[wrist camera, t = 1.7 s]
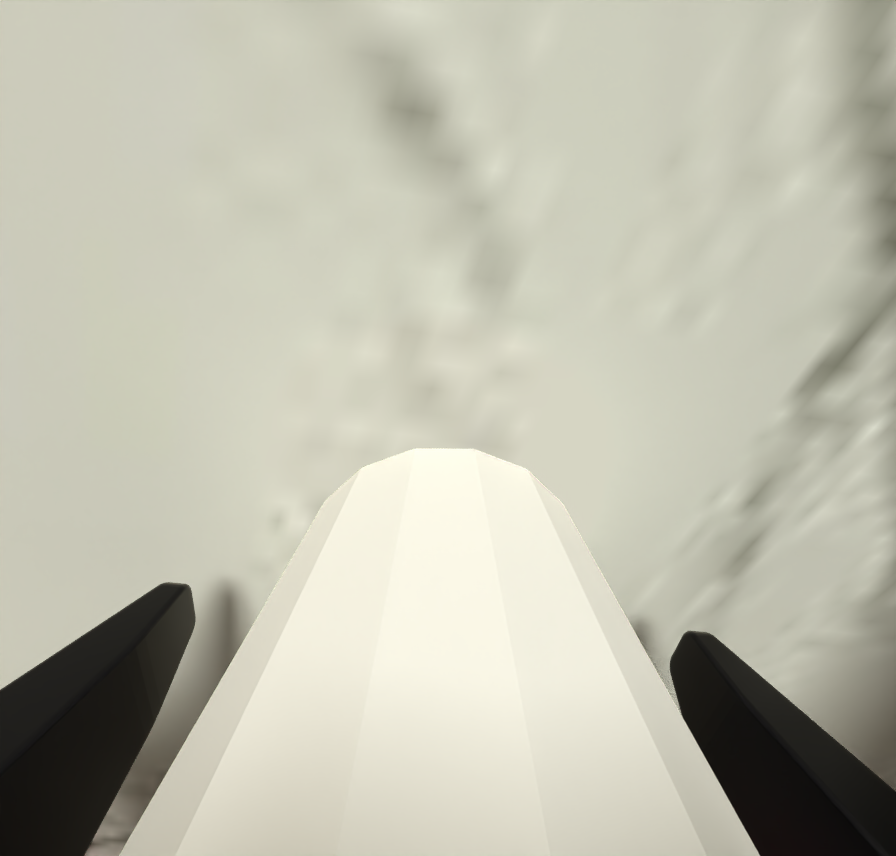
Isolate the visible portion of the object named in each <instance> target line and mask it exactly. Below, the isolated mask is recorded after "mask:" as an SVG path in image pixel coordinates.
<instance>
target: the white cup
mask: <svg viewBox="0 0 896 856" xmlns="http://www.w3.org/2000/svg"><path fill="white" fill-rule="evenodd" d="M119 856H760V855H759V853H758V851H757V850H756V848H755V846H754V844H753V842H752V841H751V839H750V837H749V835H748V833H747V832H746V830H745V828H744V826H743V825H742V823H741V821H740V819H739V817H738V816H737V814H736V812H735V810H734V808H733V807H732V805H731V803H730V801H729V799H728V798H727V796H726V794H725V792H724V791H723V789H722V787H721V785H720V783H719V782H718V780H717V778H716V776H715V774H714V773H713V771H712V769H711V767H710V766H709V764H708V762H707V760H706V758H705V757H704V755H703V753H702V751H701V749H700V748H699V746H698V744H697V742H696V740H695V739H694V737H693V735H692V733H691V732H690V730H689V728H688V726H687V724H686V723H685V721H684V719H683V717H682V715H681V714H680V712H679V710H678V708H677V707H676V705H675V703H674V701H673V699H672V698H671V696H670V694H669V692H668V690H667V689H666V687H665V685H664V683H663V681H662V680H661V678H660V676H659V674H658V673H657V671H656V669H655V667H654V665H653V664H652V662H651V660H650V658H649V656H648V655H647V653H646V651H645V649H644V648H643V646H642V644H641V642H640V640H639V639H638V637H637V635H636V633H635V631H634V630H633V628H632V626H631V624H630V622H629V621H628V619H627V617H626V615H625V614H624V612H623V610H622V608H621V606H620V605H619V603H618V601H617V599H616V597H615V596H614V594H613V592H612V590H611V589H610V587H609V585H608V583H607V581H606V580H605V578H604V576H603V574H602V572H601V571H600V569H599V567H598V565H597V564H596V562H595V560H594V558H593V556H592V555H591V553H590V551H589V549H588V547H587V546H586V544H585V542H584V540H583V538H582V537H581V535H580V533H579V531H578V530H577V528H576V526H575V524H574V522H573V521H572V519H571V517H570V515H569V513H568V512H567V510H566V508H565V506H564V505H563V503H562V502H561V501H560V500H559V499H558V498H557V497H556V496H555V495H554V494H553V493H552V492H551V491H550V490H549V489H547V488H546V487H545V486H544V485H543V484H542V483H541V482H540V481H539V480H538V479H537V478H536V477H535V476H534V475H533V474H532V473H531V472H530V471H529V470H528V469H526V468H523V467H520V466H518V465H515V464H513V463H510V462H507V461H505V460H502V459H499V458H497V457H494V456H492V455H489V454H486V453H484V452H481V451H478V450H476V449H429V448H415V449H412V450H409V451H406V452H403V453H401V454H398V455H395V456H392V457H389V458H386V459H384V460H381V461H378V462H375V463H372V464H369V465H367V466H364V467H361V468H360V469H359V470H358V471H357V472H356V473H355V474H354V475H353V476H351V477H350V478H349V479H348V480H347V481H346V482H345V483H344V484H343V485H342V486H340V487H339V488H338V489H337V490H336V491H335V492H334V493H333V494H332V495H331V496H329V497H328V498H327V499H326V500H325V501H324V503H323V505H322V506H321V508H320V510H319V512H318V513H317V515H316V517H315V518H314V520H313V522H312V524H311V525H310V527H309V529H308V531H307V532H306V534H305V536H304V537H303V539H302V541H301V543H300V544H299V546H298V548H297V549H296V551H295V553H294V555H293V556H292V558H291V560H290V562H289V563H288V565H287V567H286V568H285V570H284V572H283V574H282V575H281V577H280V579H279V580H278V582H277V584H276V586H275V587H274V589H273V591H272V593H271V594H270V596H269V598H268V599H267V601H266V603H265V605H264V606H263V608H262V610H261V612H260V613H259V615H258V617H257V618H256V620H255V622H254V624H253V625H252V627H251V629H250V630H249V632H248V634H247V636H246V637H245V639H244V641H243V643H242V644H241V646H240V648H239V649H238V651H237V653H236V655H235V656H234V658H233V660H232V661H231V663H230V665H229V667H228V668H227V670H226V672H225V674H224V675H223V677H222V679H221V680H220V682H219V684H218V686H217V687H216V689H215V691H214V693H213V694H212V696H211V698H210V699H209V701H208V703H207V705H206V706H205V708H204V710H203V711H202V713H201V715H200V717H199V718H198V720H197V722H196V724H195V725H194V727H193V729H192V730H191V732H190V734H189V736H188V737H187V739H186V741H185V743H184V744H183V746H182V748H181V749H180V751H179V753H178V755H177V756H176V758H175V760H174V761H173V763H172V765H171V767H170V768H169V770H168V772H167V774H166V775H165V777H164V779H163V780H162V782H161V784H160V786H159V787H158V789H157V791H156V792H155V794H154V796H153V798H152V799H151V801H150V803H149V805H148V806H147V808H146V810H145V811H144V813H143V815H142V817H141V818H140V820H139V822H138V824H137V825H136V827H135V829H134V830H133V832H132V834H131V836H130V837H129V839H128V841H127V842H126V844H125V846H124V848H123V849H122V851H121V853H120V855H119Z"/></svg>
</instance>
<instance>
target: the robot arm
mask: <svg viewBox="0 0 896 856" xmlns="http://www.w3.org/2000/svg"><path fill="white" fill-rule="evenodd" d="M194 626H195V610H194V604H193V598H192V591H191V588H190V587H189V585H187V584H181V583H170V582H166V583H163V584H160V585H159V586H157V587H156V588H154V589H152V590H151V591H149V592H148V593H146V594H145V595H143V596H142V597H140V598H139V599H137V600H136V601H134V602H133V603H131V604H130V605H128V606H127V607H125V608H124V609H122V610H121V611H119V612H118V613H116V614H115V615H113V616H112V617H110V618H108V619H107V620H105V621H104V622H102V623H101V624H99V625H98V626H96V627H95V628H93V629H92V630H90V631H89V632H87V633H86V634H84V635H83V636H81V637H80V638H78V639H77V640H75V641H74V642H72V643H71V644H69V645H68V646H66V647H65V648H63V649H61V650H60V651H58V652H57V653H55V654H54V655H52V656H51V657H49V658H48V659H46V660H45V661H43V662H42V663H40V664H39V665H37V666H36V667H34V668H33V669H31V670H30V671H28V672H27V673H25V674H24V675H22V676H21V677H19V678H18V679H16V680H14V681H13V682H11V683H10V684H8V685H7V686H5V687H4V688H2V689H1V690H0V856H84V855H85V853H86V851H87V849H88V847H89V845H90V844H91V842H92V840H93V838H94V836H95V834H96V832H97V830H98V829H99V827H100V825H101V823H102V821H103V819H104V817H105V815H106V814H107V812H108V810H109V808H110V806H111V804H112V802H113V800H114V799H115V797H116V795H117V793H118V791H119V789H120V787H121V785H122V784H123V782H124V780H125V778H126V776H127V774H128V772H129V770H130V769H131V767H132V765H133V763H134V761H135V759H136V757H137V755H138V754H139V752H140V750H141V748H142V746H143V744H144V742H145V740H146V738H147V737H148V735H149V733H150V731H151V729H152V727H153V725H154V723H155V720H156V718H157V716H158V714H159V711H160V709H161V707H162V704H163V702H164V700H165V697H166V695H167V692H168V690H169V688H170V685H171V683H172V680H173V678H174V675H175V673H176V671H177V668H178V666H179V663H180V661H181V659H182V656H183V654H184V651H185V649H186V647H187V644H188V642H189V639H190V637H191V635H192V632H193V629H194ZM670 672H671V677H672V680H673V684H674V688H675V691H676V695H677V699H678V703H679V706H680V710H681V714H682V717H683V719H684V721H685V723H686V724H687V726H688V728H689V730H690V732H691V733H692V735H693V737H694V739H695V740H696V742H697V744H698V746H699V748H700V749H701V751H702V753H703V755H704V757H705V758H706V760H707V762H708V764H709V766H710V767H711V769H712V771H713V773H714V774H715V776H716V778H717V780H718V782H719V783H720V785H721V787H722V789H723V791H724V792H725V794H726V796H727V798H728V799H729V801H730V803H731V805H732V807H733V808H734V810H735V812H736V814H737V816H738V817H739V819H740V821H741V823H742V825H743V826H744V828H745V830H746V832H747V833H748V835H749V837H750V839H751V841H752V842H753V844H754V846H755V848H756V850H757V851H758V853H759V855H760V856H896V791H895V790H893V789H892V788H891V787H890V786H889V785H888V784H886V783H885V782H884V781H883V780H882V779H881V778H879V777H878V776H877V775H876V774H875V773H874V772H872V771H871V770H870V769H869V768H868V767H867V766H865V765H864V764H863V763H862V762H861V761H859V760H858V759H857V758H856V757H855V756H854V755H852V754H851V753H850V752H849V751H848V750H847V749H845V748H844V747H843V746H842V745H841V744H840V743H838V742H837V741H836V740H835V739H834V738H833V737H831V736H830V735H829V734H828V733H827V732H826V731H824V730H823V729H822V728H821V727H820V726H819V725H817V724H816V723H815V722H814V721H813V720H812V719H810V718H809V717H808V716H807V715H806V714H805V713H803V712H802V711H801V710H800V709H799V708H797V707H796V706H795V705H794V704H793V703H792V702H790V701H789V700H788V699H787V698H786V697H785V696H783V695H782V694H781V693H780V692H779V691H778V690H776V689H775V688H774V687H773V686H772V685H771V684H769V683H768V682H767V681H766V680H765V679H764V678H762V677H761V676H760V675H759V674H758V673H757V672H755V671H754V670H753V669H752V668H751V667H750V666H748V665H747V664H746V663H745V662H744V661H743V660H741V659H740V658H739V657H738V656H737V655H735V654H734V653H733V652H732V651H731V650H730V649H728V648H727V647H726V646H725V645H724V644H723V643H721V642H720V641H719V640H718V639H717V638H716V637H714V636H713V635H711V634H710V633H707V632H698V631H687V632H686V633H684V635H683V636H682V638H681V640H680V642H679V644H678V646H677V648H676V650H675V651H674V653H673V655H672V657H671V660H670Z"/></svg>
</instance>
